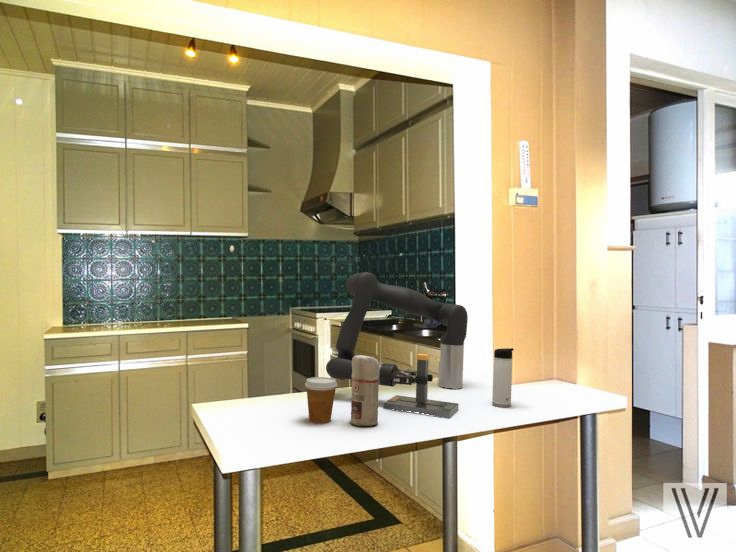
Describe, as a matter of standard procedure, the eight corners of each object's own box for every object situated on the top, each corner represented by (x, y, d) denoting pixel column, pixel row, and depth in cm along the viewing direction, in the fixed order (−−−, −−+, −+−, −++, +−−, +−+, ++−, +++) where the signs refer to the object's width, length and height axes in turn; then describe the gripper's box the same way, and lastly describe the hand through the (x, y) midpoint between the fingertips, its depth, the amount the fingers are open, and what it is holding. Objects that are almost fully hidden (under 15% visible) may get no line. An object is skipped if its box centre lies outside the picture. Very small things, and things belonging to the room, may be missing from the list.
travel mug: (512, 408, 168) (514, 349, 168) (492, 406, 169) (494, 348, 169) (511, 404, 174) (513, 347, 174) (491, 402, 175) (493, 346, 175)
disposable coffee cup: (297, 419, 146) (298, 379, 146) (322, 414, 152) (323, 375, 152) (317, 427, 139) (318, 384, 139) (342, 421, 146) (344, 380, 146)
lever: (414, 401, 162) (416, 354, 162) (418, 399, 165) (419, 353, 165) (424, 403, 160) (426, 355, 160) (427, 401, 163) (429, 354, 164)
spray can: (345, 420, 147) (348, 353, 147) (371, 418, 150) (373, 352, 150) (355, 428, 139) (357, 358, 139) (382, 426, 142) (384, 357, 142)
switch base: (383, 408, 161) (383, 401, 161) (396, 400, 172) (396, 394, 172) (449, 418, 153) (449, 411, 153) (458, 409, 164) (458, 403, 164)
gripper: (374, 366, 162) (423, 371, 155) (390, 360, 175) (436, 365, 168) (373, 389, 162) (423, 395, 155) (389, 381, 175) (435, 387, 168)
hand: (429, 379), depth 162 cm, fingers open, 5 cm apart
